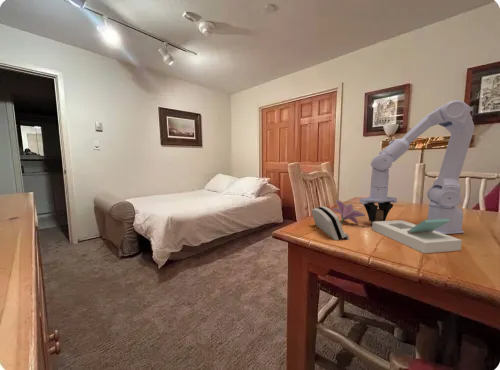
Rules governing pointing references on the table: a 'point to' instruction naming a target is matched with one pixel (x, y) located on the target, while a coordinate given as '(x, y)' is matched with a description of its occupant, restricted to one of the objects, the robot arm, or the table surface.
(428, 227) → the teal flap lid
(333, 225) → the grey curved piece
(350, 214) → the lily
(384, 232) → the tray
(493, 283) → the table surface
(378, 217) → the peg
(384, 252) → the table surface
